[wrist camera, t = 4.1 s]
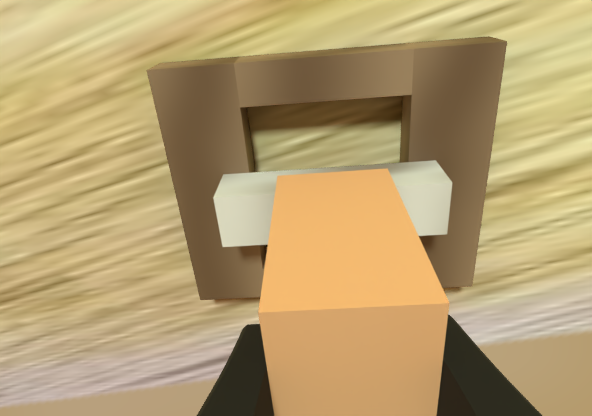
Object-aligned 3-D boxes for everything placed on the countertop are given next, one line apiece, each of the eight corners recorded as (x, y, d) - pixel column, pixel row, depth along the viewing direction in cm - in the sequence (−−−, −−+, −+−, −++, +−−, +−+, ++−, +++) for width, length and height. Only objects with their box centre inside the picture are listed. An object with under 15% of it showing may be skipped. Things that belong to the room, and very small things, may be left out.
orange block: (387, 168, 11) (449, 302, 7) (383, 324, 14) (426, 504, 9) (277, 175, 12) (258, 312, 7) (294, 328, 14) (288, 507, 9)
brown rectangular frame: (489, 36, 15) (537, 49, 12) (460, 266, 20) (490, 318, 17) (159, 63, 16) (124, 82, 13) (207, 279, 20) (189, 332, 17)
